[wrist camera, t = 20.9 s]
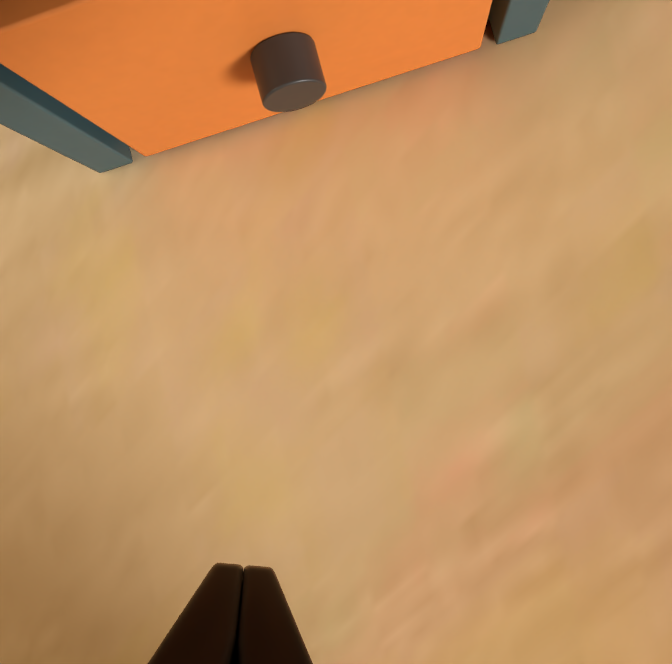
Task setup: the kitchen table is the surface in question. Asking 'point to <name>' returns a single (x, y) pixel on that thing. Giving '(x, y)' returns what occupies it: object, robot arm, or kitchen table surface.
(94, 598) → the kitchen table surface
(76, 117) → the cubby
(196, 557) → the kitchen table surface
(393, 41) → the drawer
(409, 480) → the kitchen table surface
